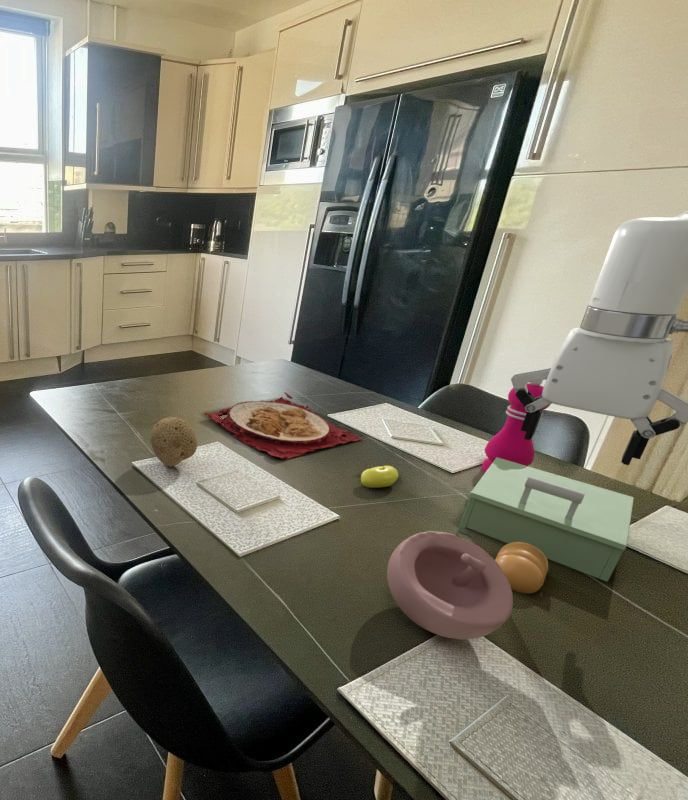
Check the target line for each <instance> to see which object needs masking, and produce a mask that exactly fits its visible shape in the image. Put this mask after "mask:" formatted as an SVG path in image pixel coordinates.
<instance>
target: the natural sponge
mask: <svg viewBox="0 0 688 800" xmlns="http://www.w3.org/2000/svg"><path fill="white" fill-rule="evenodd" d="M149 438H150V439H149V440H150V444H151V448H152V450H153V452H154V454H155V456H156V458H157V459H158V460H159V461H160V462H161V463H162V464H163V465H164V466H166V467H168V466H169V468H172V467H175V466H178V465H179V464H180V463H181V462H182V461H184V460H187V459H189V458H191V457H193V456H194V454H195V453H197V452H196V451H197V448H198V440H197V437H196V434H195V431H194V429H193V427H192V426H191V425H190V424H189V423H188V422H187V421H186V420H184V419H182V418H179V417H175V416H169V417H165V418H161V419H160V420H159V421H158V422H156V423H155V424H154V425H153V427H152V428H151V431H150V434H149Z"/></svg>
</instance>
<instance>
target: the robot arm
mask: <svg viewBox="0 0 688 800" xmlns="http://www.w3.org/2000/svg"><path fill="white" fill-rule="evenodd" d="M596 280H597V281H596V283H595V285H594V288H593V291H592V294H591V296H590V299H589V302H588V304H587V307H586V309H585V312H584V315H583V318H582V320H581V323H580V326H579V327H573V328H572V329H570V331H569V333H568V334H567V335H566V337H565V339H564V341H563V342H562V344H561V346H560V347H559V350H558V352H557V354H556V356H555V358H554V361H553V363H552V365H551V367H550V368H544V369H539V370H534V371H533V370H532V371H528V372H521V373H517V374H514V375H512V377H511V378H510V381H511V384H512V388H514V390H515V393H516V397H517V398H518V399H519V401H520V402H521V403H522V404H523V406H524V407H525V410H526V411H527V413H526V416H525V419H524V422H523V425H522V427H521V431H525V432H526V434H525V437H524V439H526V440H531V439H532V440H533V437H534V436H535V433H536V431H537V428H538V425H539V422H540V421H541V420H540V417H541V418H542V416H541V414H543V410H542V411H541V408H544V407H546V406H548V405H550V406H551V405H557V406H561V407H565V408H571V409H575V410H579V411H585V412H590V413H594V414H599V415H603V416H610V417H615V418H619V419H625V420H630V421H631V423H632V424H633V426H634V427H635V429H636V430H633V431H632V434H631V436H630V438H629V440H628V442H627V445H626V447H625V450H624V452H623V454H622V456H621V461H620V463H622V465H625V466H630V464H631V462H632V460H633V459H635V460H641V458H642V456H643V454H644V451H645V449H646V447H647V445H648V443H649V442H650V441H649V440H650V439H653V438H654V437H656V436H659V435H663V434H666V433H669V432H672V431H675V430H678V429H679V428H680V427H681V426H683V425H686V424H687V423H688V400H686V399H684V398H683V397H680V396H679V395H678V394H675V393H674V392H672V391H670V390H669V389H666V388H665V387H664V386H663V385H664V382H665V380H666V377H667V374H668V372H669V368H670V365H671V360H672V358H673V352H674V347H675V340H673V339H671V338H669V337H668V336H669V335H673V334H678V333H685V334H688V320H685V319H682V318H680V317H679V316H677V314H679V311H680V310H681V309H680V308H681V306H682V304H683V302H684V300H685V297H686V295H687V292H688V210H686V211H684V212H682V213H680V214H678V215H677V216H674V217H638V218H632V219H628V220H626V221H624V222H623V223H621V224H620V225H618V227H617V229H616V230H615V231H614V234H613V237H612V239H611V242H610V244H609V248H608V250H607V253H606V256H605V259H604V260H603V264H602V266H601V270H600V272H599V275H598V277H597V279H596ZM540 380H543V381H545V382H544V384H543V387H544V388H543V392H542V395H541V396H539V397H537V398H534V396H533V395H532V394H531V393H530V392H529V390H528V389H527V385H526V383H530V382H534V381H540ZM657 401H659V402H660V403H662V404H664V405H666V406H668V407H669V408H670V409H673V410H674V411H675V413H673V414H672V415H670V416H668V417H665V418H662V419H659V420H655V421H653V420H652V419H651V417H650V416H649V415H650V414H651V412H652V410H653V409H654V407H655V405H656V403H657ZM539 420H540V421H539Z"/></svg>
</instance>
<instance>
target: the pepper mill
mask: <svg viewBox="0 0 688 800" xmlns="http://www.w3.org/2000/svg"><path fill="white" fill-rule="evenodd" d="M543 381H544V380H540V381H534V382H528V383H526V385H527V389H528V390H529V392H530V393H531V394H532V395H533V396H534V398H537V397H539V396H541V395H542V392H543V388H544V385H542V384H543ZM507 400H508V402H509V404H510V405H508V406H507V407H506V408H507V409H506V410H505V413H506V415H507V416H506V421H505V424H504V425H503V427H502V428H501V429H500V430H499V432H497V433H496V434H495V435H494V436H493V437H492V438H490V439H489V441H488V442H487V444H486V445H485V447H484V454H485V456H486V457H487V458H485V459H484V460H483V462H482V465H481V470H482V471H483V473H485V472H486V471H487V470H488V468H489V467H490V466H491V464H492V463H493V462H494V460H495V459H496V458H501V459H504V460H508V461H511V462H515V463H518V464H521V465H525V466H528V467H529V466H530V465H532V463H533V462H534V460H535V459H534V458H535V448H534V441H533V438H532V439H531V440H526V439H524V437H525V434H526V432H525V431H521V427H522V425H523V422H524V419H525V416H526V413H527V411H526V410H525V407H524V406H523V404H522V403H521V402H520V401H519V399H518V398H517V397H516V393H515V390H514V388H513V387H512V388H511V389H510V390H509V392H508V394H507ZM550 406H551V404H550V405H548V406H546V407H544V408H541V411H542V412H543V411H544V410H546V409H548V408H549V407H550ZM542 416H543V413H542V414H541V417H540V420H539V422H540V421H541V420H542Z"/></svg>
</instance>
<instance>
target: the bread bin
mask: <svg viewBox="0 0 688 800" xmlns="http://www.w3.org/2000/svg"><path fill="white" fill-rule="evenodd" d="M466 503H467V504H466V506H465V509H464V512H463V515H462V517H461V521H460V524H459V526H458V529H457V532H458V533H461V534H463V535H466V536H468V537H471V535H470V533H469V531H468V529H469V530H472V531H474V532H477V533H480V534H483V535H485V536H488V537H491V538H492V539H496V540H498V541H501V542H503V543H505V544H509V543H512V542H523V543H527V544H530V545H533V546H535V547H536V548H538V549H539V550H540V551H542V552H543V554H544V555H545V557H546V558H547V560H550V561H553V562H555V563H557V564H561V565H562V566H565V567H568V568H571V569H573V570H576V571H578V572H581V573H584V574H586V575H589V576H591V577H594V578H596V579H599V580H602V581H604V582H607V583H608V582H609V579H610V578H611V576H612V574H613V572H614V570H615V568H616V566H617V565H618V563H619V560H620V558H621V557H622V554H623V553H624V551H625V550H621V549H618V548H615V547H613V546H610V545H607V544H604V543H601V542H598V541H595V540H593V539H590V538H587V537H584V536H581V535H578V534H575V533H572V532H570V531H567V530H564V529H561V528H558V527H555V526H552V525H549V524H547V523H544V522H541V521H538V520H535V519H532V518H529V517H527V516H524V515H521V514H518V513H515V512H512V511H509V510H506V509H504V508H501V507H498V506H495V505H492V504H489V503H486V502H483V501H481V500H478V499H475V498H472V497H469V498H468V501H467V502H466Z"/></svg>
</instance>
